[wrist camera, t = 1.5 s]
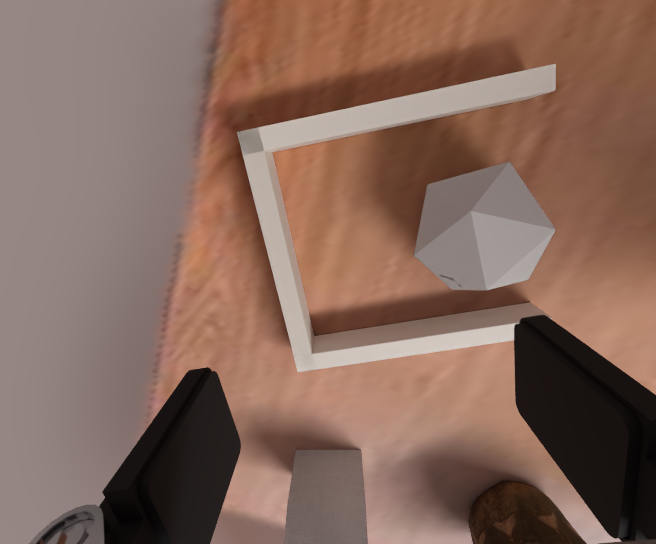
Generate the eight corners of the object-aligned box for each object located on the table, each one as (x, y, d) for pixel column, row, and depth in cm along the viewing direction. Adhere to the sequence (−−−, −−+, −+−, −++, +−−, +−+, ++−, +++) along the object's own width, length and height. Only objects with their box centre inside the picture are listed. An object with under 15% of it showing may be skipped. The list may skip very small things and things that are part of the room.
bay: (529, 75, 23) (556, 63, 20) (530, 317, 29) (551, 334, 26) (248, 135, 25) (236, 132, 22) (301, 352, 31) (298, 372, 28)
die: (393, 180, 26) (388, 280, 21) (505, 111, 21) (538, 222, 15) (447, 236, 31) (454, 331, 25) (552, 191, 25) (591, 301, 20)
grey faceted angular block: (295, 449, 34) (279, 558, 25) (361, 449, 34) (369, 559, 25) (297, 476, 36) (283, 590, 26) (361, 476, 35) (369, 592, 26)
